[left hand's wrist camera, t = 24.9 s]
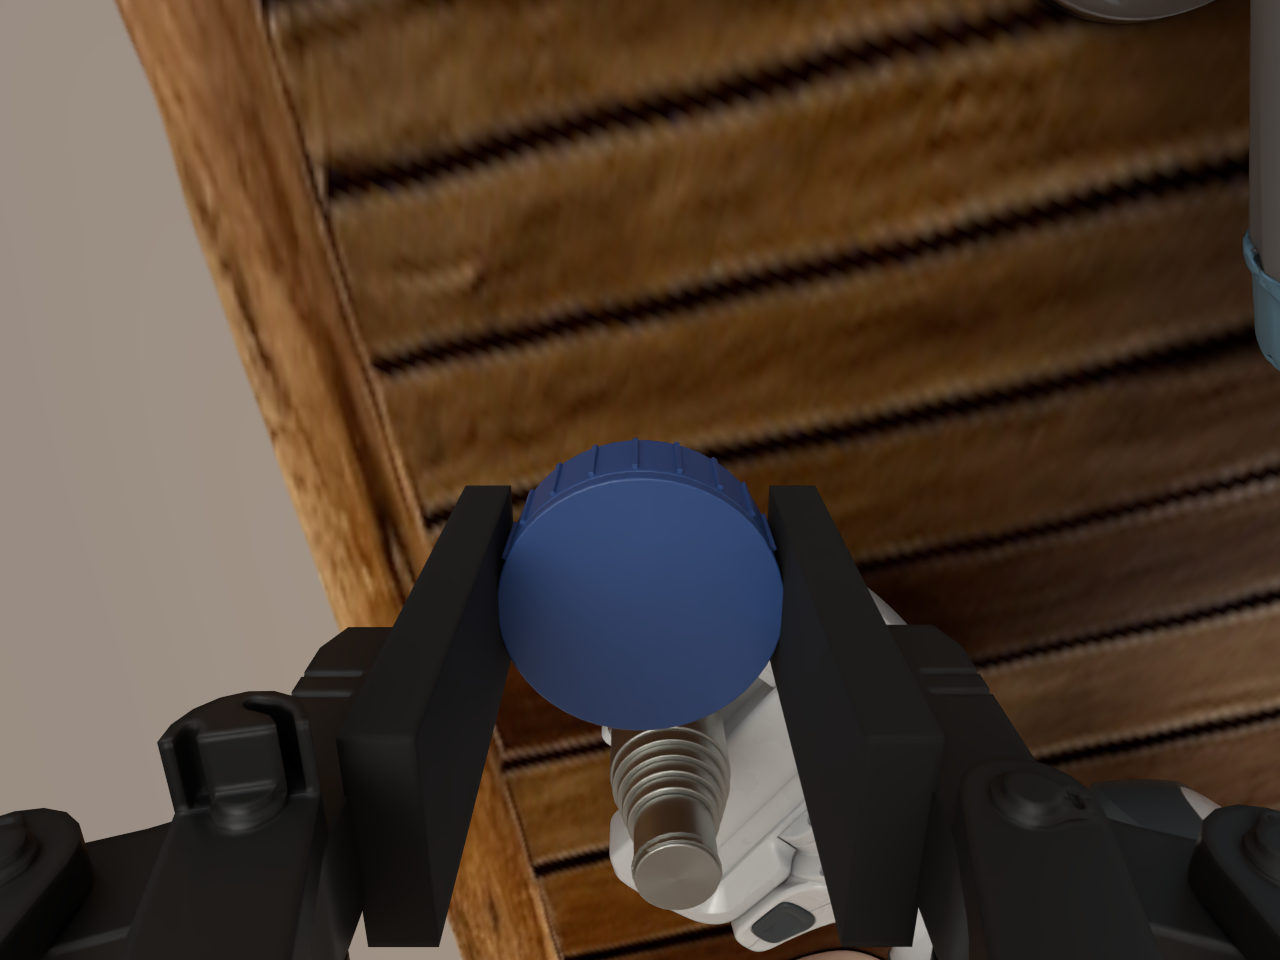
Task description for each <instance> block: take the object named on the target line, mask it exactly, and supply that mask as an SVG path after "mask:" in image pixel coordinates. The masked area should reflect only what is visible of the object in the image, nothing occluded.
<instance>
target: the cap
mask: <svg viewBox="0 0 1280 960" xmlns="http://www.w3.org/2000/svg"><path fill="white" fill-rule="evenodd" d="M774 550H777V548H776V545H775V542H774V539H773V536H772V533H771V530H770V527H769V524H768V521H767V519H766V516H765V513H763V514H760V511H759V509H758V507H757V505H756V504H755V502H754V500H753V499H752V497H751V495H750V494H749V491H748V488H747V485H746V484H745V482H742V483H740V482H739V481H738V480H737V479H736V478H735V477H734V476H733V475H732V474H731V473H730V472H729V471H728V470H726V469H725V468H724V467H722V466H721V465H719V464H718V462H717V459H716V458H714V457H712V458H711V459H710V458H708V457H706V456H704V455H703V454H701V453H699V452H696V451H693V450H691V449H688V448H686V447H683V446H680V443H678V442H674V444H671V443H667V442H659V441H650V440H638V438H633V440H630V441H623V442H615V443H610V444H607V445H603V446H599V447H598V446H597V445H594V446H592V449H591V450H588V451H586V452H583V453H581V454H579V455H577V456H575V457H573V458H572V459H570V460H568V461H566V462H565V463H563V464H561V462H560V463H558V464H557V465H556V469H555V470H554V471H553V472H551V473H550V474H549V475H548V476H547V477H546V478H545V479H544V480H543V481H542V482H541V483H540V484H539V486H538V487H537V488H536V490H535V491H534V490H533V489H531V491H530V492H529V495H528V498H527V501H526V504H525V507H524V508H523V510H522V512H521V515H520V518H519V520H518V523H517V522H514V523H513V526H512V529H511V532H510V535H509V538H508V540H507V543H506V546H505V549H504V552H503V555H502V559H504V560H505V562H504V565H503V568H502V571H501V575H500V580H499V584H498V608H499V622H500V632H501V636H502V639H503V642H504V644H505V647H506V649H507V652H508V654H509V655H510V657H511V659H512V661H513V663H514V664H515V666H516V668H517V669H518V670H519V672H520V673H521V674H522V676H523V677H524V678H525V680H526V681H527V682H528V683H529V684H530V685H531V686H532V687H533V688H534V689H535V690H536V691H537V692H538V693H539V694H540V695H542V696H543V697H544V698H545V699H547V700H548V701H549V702H550V703H552V704H553V705H555V706H557V707H558V708H560V709H562V710H563V711H565V712H567V713H569V714H571V715H573V716H575V717H577V718H580V719H582V720H585V721H588V722H591V723H594V724H597V725H601V726H605V727H610V728H615V729H624V730H658V729H666V728H672V727H676V726H681V725H685V724H688V723H691V722H694V721H697V720H699V719H702V718H704V717H706V716H708V715H711V714H713V713H715V712H717V711H719V710H720V709H722V708H723V707H725V706H726V705H728V704H730V703H731V702H733V701H734V700H735V699H736V698H738V697H739V696H740V695H741V694H742V693H744V692H745V691H746V690H747V689H748V688H749V687H750V686H751V685H752V684H753V682H754V681H755V680H756V679H757V678H758V677H759V675H760V674H761V673H762V671H763V670H764V668H765V667H766V666H767V664H768V662H769V660H770V658H771V657H772V655H773V653H774V651H775V649H776V646H777V643H778V640H779V638H780V630H781V617H782V602H783V581H782V577H781V573H780V569H779V566H778V563H777V560H776V557H775V554H774Z"/></svg>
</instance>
